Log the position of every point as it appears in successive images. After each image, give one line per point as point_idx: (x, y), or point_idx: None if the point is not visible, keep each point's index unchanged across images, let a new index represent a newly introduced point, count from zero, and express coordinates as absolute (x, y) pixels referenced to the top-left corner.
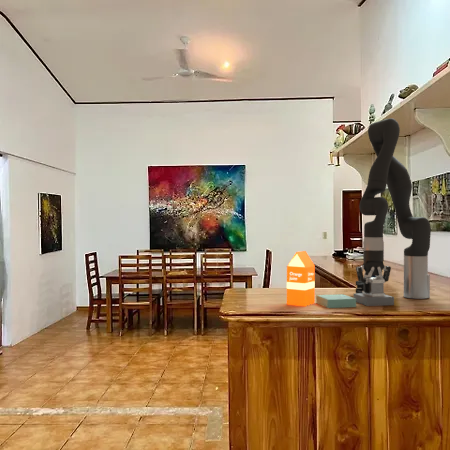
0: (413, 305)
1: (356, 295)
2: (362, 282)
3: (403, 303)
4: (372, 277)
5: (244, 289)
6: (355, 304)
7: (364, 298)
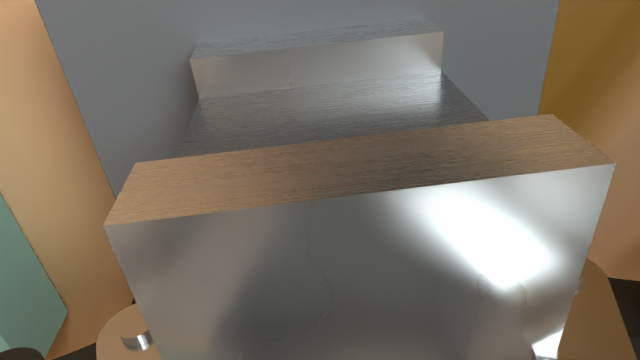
0: (616, 261)
1: (81, 95)
2: (94, 355)
3: (619, 172)
4: (514, 212)
5: None
6: (53, 330)
7: None
